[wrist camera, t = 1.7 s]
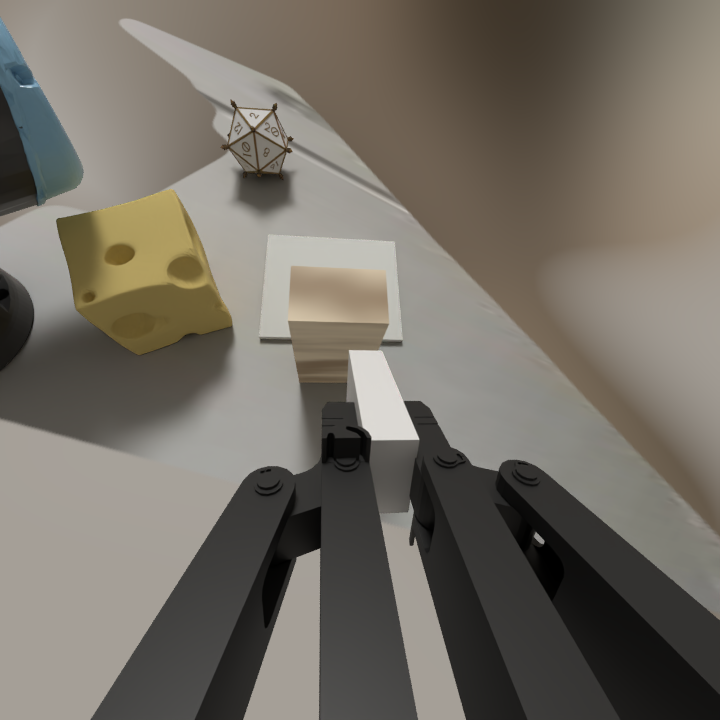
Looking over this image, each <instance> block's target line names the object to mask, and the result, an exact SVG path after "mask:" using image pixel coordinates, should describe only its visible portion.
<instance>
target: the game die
mask: <svg viewBox="0 0 720 720" xmlns="http://www.w3.org/2000/svg"><path fill="white" fill-rule="evenodd" d="M230 100H231V99H230ZM231 105H232V107H234V108H235V111H234V116H233V121H232V125H231V130H230V133H229V134H228V137H229V139H228V144H227V145H222V146H221V148H222V149H224V150H225V149H229V150H230V151H231V153H232V154H233V155H234V157H235V158H236V159H237V161H238V162H239V164H240V165H241V166H242V168H243V169H244V170H245V172H243V178H245V177H247V173H257V176H258V177H260V176H261V173H262V174H278V175H279V177H280V178H281V179H283V175H282V174H281V173H280V172H281V168H282V165H283V162H284V159H285V155H286V152H288V153H291V152H293V151H292V150H291V149H290V148H287V146H288V141H292V140H293V138H292V137H291V136H290V137H288V138H287V136H286V134H285V132H284V130H283V128H282V126H281V124H280V122H279V119H278V117H277V115H276V113H275V110H277V103H276V104H273V107H272V108H273V109H257V108H242V107H237V106H236V104H235V102H234V101H232V100H231Z"/></svg>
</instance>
